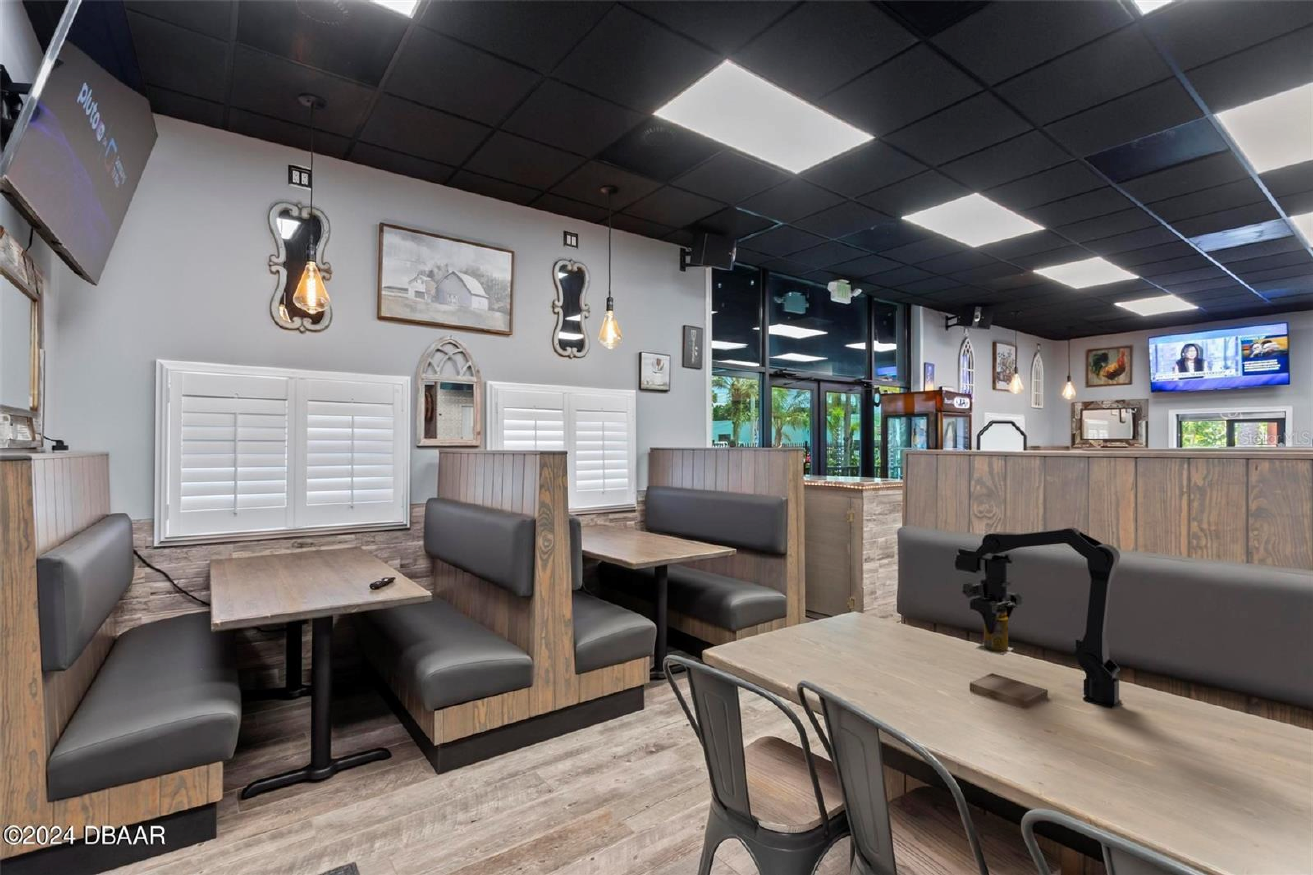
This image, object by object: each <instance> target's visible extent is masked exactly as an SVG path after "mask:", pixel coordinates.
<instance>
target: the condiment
mask: <svg viewBox="0 0 1313 875" xmlns="http://www.w3.org/2000/svg"><path fill="white" fill-rule="evenodd" d="M997 611H999V612H1000V615H999V618H998V621H997V623H996V626H995V629H994V632H993V634H989V633H988V631H987V628H986V625H985V622H984V621H983V643H982V644H980V645H978V646H976V647H975V649H976V650H979V651H982V652H987V653H990V654H995V655H999V656H1004V655H1006V654H1007V653H1009V652H1010V651H1012V650H1013V649H1014V647H1009V621H1008V617H1007V616H1006V615H1007V609H1006V607H1004V606H1001V605H998V609H997Z"/></svg>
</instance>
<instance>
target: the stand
mask: <svg viewBox="0 0 1313 875" xmlns="http://www.w3.org/2000/svg"><path fill="white" fill-rule="evenodd" d="M969 691H970V692H974V693H977V694H979V695H983V696H986V697H989V698H991V699H994V700H998V701H1000V702H1003V703H1007V704H1010V705H1012V706H1015V707H1019V708H1022V709H1023V710H1024V709H1025V710H1027V709H1030V708H1031V707H1033V706H1036V705H1037V704H1039V703H1040V702H1042V700H1043V701H1044V700H1046V699H1048V697H1049V695H1048V694H1049V693H1048V692H1049V691H1048V689H1045V688H1042V687H1039V686H1035V685H1032V684H1029V683H1025V682H1023V681H1020V680H1016V679H1013V678H1009V677H1006V676H1003V675H999V674H997V673H994V672H992V673H988V674H987V675H984V676H982V677H980V678H978V679H975V680H973V681H970V682H969Z"/></svg>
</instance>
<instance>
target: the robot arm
mask: <svg viewBox="0 0 1313 875" xmlns="http://www.w3.org/2000/svg"><path fill="white" fill-rule="evenodd" d="M1062 544H1067V545H1068V546H1070V547H1071V548H1072V549H1073V550H1075V552H1077V553H1078V554H1079V555H1080V556H1083V557H1084V558H1085V559H1086V561H1087V570H1088V574H1089V578H1090V586H1089V597H1088V607H1087V614H1086V616H1087V618H1086V624H1085V625H1086V626H1085V634H1084V635H1083V634H1082V635H1080V636H1078V637H1077V638H1076V639H1075V652H1074V653H1073V656H1076V662H1077V664H1078V665H1079V666H1080V667H1081V668H1082V669H1083V671H1084V673H1085V678H1084V679H1083V697H1082V700H1083V701H1087V702H1090V703H1093V704H1097V705H1100V706H1104V707H1107V708H1109V707H1110V709H1114V708H1115V707H1117V706H1118V705H1120V704H1122V703H1123V702H1122V700H1121V699H1120V679H1119V678H1115V677H1117V676H1118V674H1119V673H1120V670H1121V668H1120V667H1119V665H1117V664H1116V663H1115V661H1113V659H1111V657H1110V650H1109V643H1108V640H1107V637H1106V633H1107V632H1106V631H1107V622H1108V613H1109V612H1108V611H1109V605H1110V604H1109V602H1110V593H1111V582H1112V580H1113V578H1114V575H1115V572H1116V571H1117V567H1118V566H1119V562H1120V558H1121V553H1120V551H1119V550H1118V549H1117V548H1116V547H1115V546H1113V545H1112V544H1108V543H1102V542H1100V541H1099V540H1097V539H1095V538H1094V537H1091V536H1089V534H1085V533H1084V532H1082V531H1080V530H1079V529H1078V528H1076V527H1071V526H1070V527H1069V526H1068V527H1066V528H1061V529H1050V530H1041V531H1031V532H1022V533H1019V532H1007V531H994V532H991V533H988V534H986V535H984V536H983V538H982V540H981V545H980V546H979V547H978V548H977V549H976V550H974V549H968V548H963V547H961V548H958V550H957V554H956V557H955V561H954V566H955V569H956V571H957V572H960V573H961V572H962V573H969V574H975V575H979V574H981V572H984V578H982V579H981V580H980V583H978V584H972V583H971V582H967V583H962V588H961V589H962V590H961V593H962V594H963V595H964V596H965V597H966V598H967V599H970V598H972V599H971V600H969V601H968V602H969V604H968V609H969V610H974V611H976V612H978V613H979V614H980V615H981V616H982V620H983V623H984V622H985V625H986V628H987V631H988V633H989V634H993V632H994V629H995V626H996V623H997V621H998V618H999V615H1000V612H999V611H997V609H998V605H1001V606H1004V607H1006V609H1007V615H1006V616H1007V617H1008V622H1009V621H1010V619H1011V617H1012V616H1013V614H1014V612H1015V610H1016V609H1018V606H1019V605H1022V604H1023V597H1022V596H1021V595H1020V593H1019V592H1018V593H1017V592H1013V591H1008V586H1011V585H1012V584H1011V581H1010V580H1008V564H1013V563H1016V562H1017V560H1016V558H1014V557H1013V556H1012V555H1011V554H1010V553H1006V554H1005V555H1001V553H1004V552H1008V551H1012V550H1015V549H1019V548H1027V547H1038V546H1050V545H1062ZM990 554H991V555H992V556H987V555H990ZM999 554H1000V555H999ZM973 597H975V598H973ZM1013 603H1014V604H1015V605H1014V604H1013ZM1121 702H1122V703H1121ZM1116 705H1117V706H1116Z"/></svg>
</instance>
